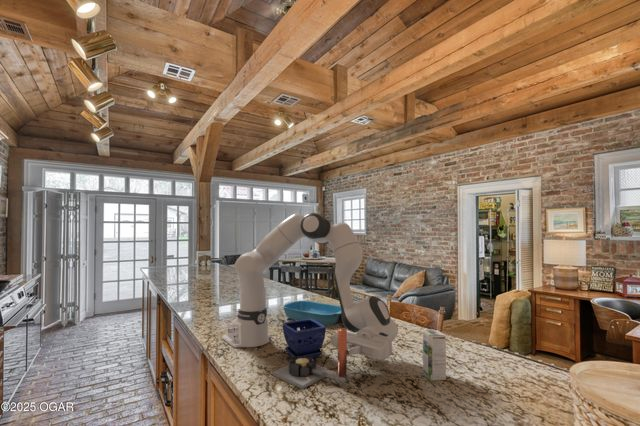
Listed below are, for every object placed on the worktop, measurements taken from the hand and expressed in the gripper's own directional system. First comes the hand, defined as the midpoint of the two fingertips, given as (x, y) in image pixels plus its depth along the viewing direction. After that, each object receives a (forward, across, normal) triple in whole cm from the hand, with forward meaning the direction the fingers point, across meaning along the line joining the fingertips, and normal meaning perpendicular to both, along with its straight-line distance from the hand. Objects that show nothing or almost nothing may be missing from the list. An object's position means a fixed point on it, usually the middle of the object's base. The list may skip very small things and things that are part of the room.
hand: (346, 352), depth 100 cm
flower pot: (-8, -26, +10) cm, 29 cm away
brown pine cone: (-59, -40, +11) cm, 72 cm away
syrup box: (-23, +19, +10) cm, 32 cm away
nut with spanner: (+3, -9, +9) cm, 13 cm away
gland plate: (+4, -15, +10) cm, 19 cm away
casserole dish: (-49, -56, +11) cm, 75 cm away
